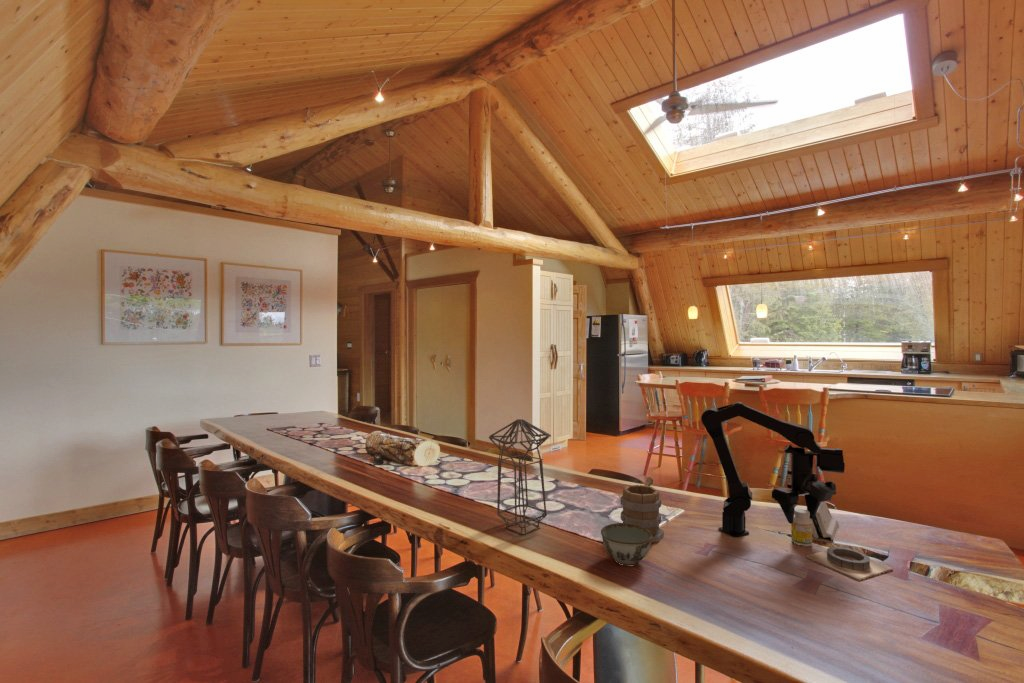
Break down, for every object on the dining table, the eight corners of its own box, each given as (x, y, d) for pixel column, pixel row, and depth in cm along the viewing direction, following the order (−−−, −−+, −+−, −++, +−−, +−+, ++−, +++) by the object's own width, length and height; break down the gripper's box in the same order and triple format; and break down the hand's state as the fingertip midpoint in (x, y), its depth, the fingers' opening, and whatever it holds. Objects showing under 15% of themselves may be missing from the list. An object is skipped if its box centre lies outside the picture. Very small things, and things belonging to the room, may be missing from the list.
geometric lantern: (520, 542, 145) (517, 425, 145) (488, 528, 157) (485, 419, 157) (557, 527, 156) (554, 418, 156) (523, 515, 167) (521, 413, 167)
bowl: (653, 554, 137) (653, 526, 137) (650, 576, 124) (650, 545, 124) (604, 547, 142) (604, 520, 142) (597, 568, 129) (597, 538, 129)
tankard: (655, 546, 142) (655, 495, 142) (613, 537, 149) (614, 488, 149) (672, 524, 159) (672, 478, 159) (634, 516, 166) (634, 472, 166)
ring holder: (858, 580, 122) (858, 571, 122) (805, 557, 135) (805, 548, 135) (892, 570, 128) (892, 560, 128) (838, 548, 141) (838, 540, 141)
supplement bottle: (810, 548, 141) (810, 515, 141) (789, 543, 144) (789, 511, 144) (813, 542, 145) (813, 510, 145) (793, 537, 148) (793, 506, 148)
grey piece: (833, 542, 145) (820, 508, 147) (816, 543, 148) (803, 510, 150) (839, 524, 158) (827, 494, 160) (823, 526, 161) (811, 496, 163)
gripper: (806, 479, 133) (805, 536, 134) (850, 472, 141) (849, 526, 141) (770, 469, 144) (769, 522, 144) (813, 462, 151) (812, 513, 151)
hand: (801, 520), depth 145 cm, fingers open, 9 cm apart
